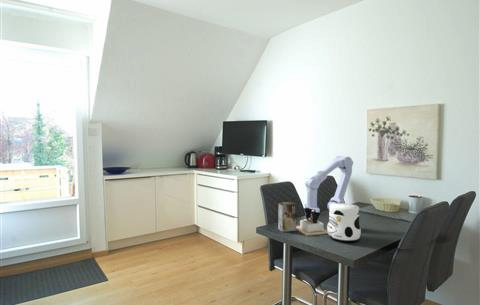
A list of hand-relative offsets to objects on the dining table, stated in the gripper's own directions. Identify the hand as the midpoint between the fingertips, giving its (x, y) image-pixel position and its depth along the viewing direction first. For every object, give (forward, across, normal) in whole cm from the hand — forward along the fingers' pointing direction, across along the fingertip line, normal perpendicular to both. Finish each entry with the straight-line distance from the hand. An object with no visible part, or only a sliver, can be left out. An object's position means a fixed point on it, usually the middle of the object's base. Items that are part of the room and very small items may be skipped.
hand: (311, 221), depth 183 cm
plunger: (+4, 0, 0) cm, 4 cm away
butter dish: (+5, 0, 0) cm, 5 cm away
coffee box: (+5, -4, -14) cm, 15 cm away
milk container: (+5, +18, +9) cm, 21 cm away
